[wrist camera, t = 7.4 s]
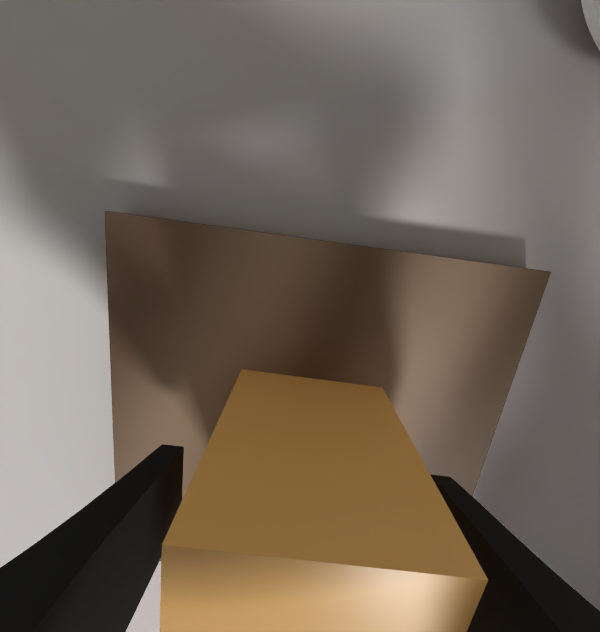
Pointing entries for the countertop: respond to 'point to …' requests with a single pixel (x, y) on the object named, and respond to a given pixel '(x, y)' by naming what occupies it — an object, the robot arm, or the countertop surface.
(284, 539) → the golden yellow cube
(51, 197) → the countertop surface
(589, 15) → the white ridged ball
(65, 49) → the countertop surface
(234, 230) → the flat brown square board
